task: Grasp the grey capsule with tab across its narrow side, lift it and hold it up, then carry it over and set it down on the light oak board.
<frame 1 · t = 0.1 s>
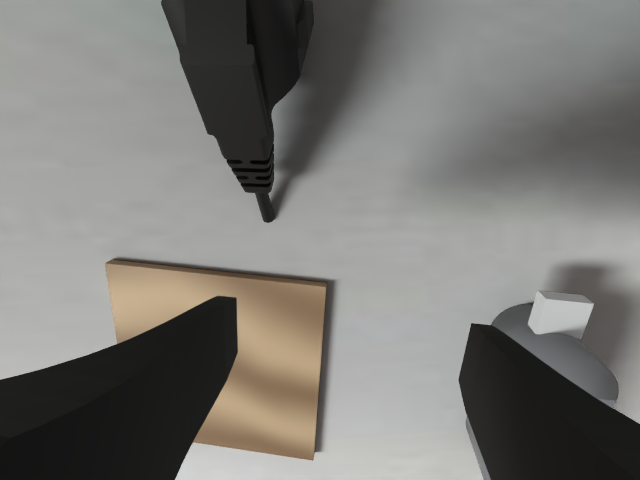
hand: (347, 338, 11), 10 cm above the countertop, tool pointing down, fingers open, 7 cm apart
grey capsule with tab: (510, 380, 22), on the countertop
oak board: (219, 363, 24), on the countertop
power plug: (267, 109, 19), on the countertop
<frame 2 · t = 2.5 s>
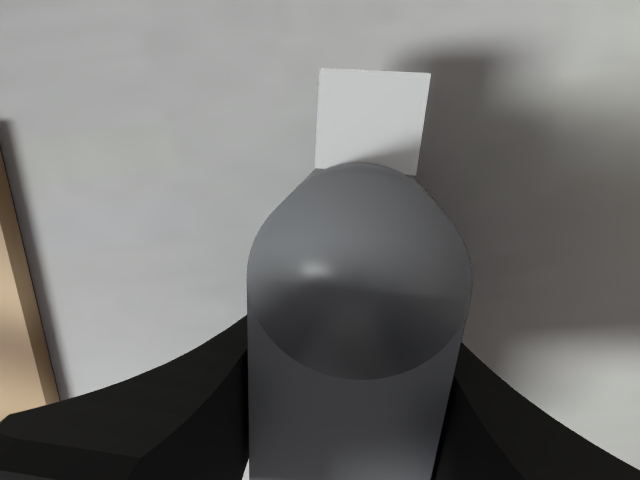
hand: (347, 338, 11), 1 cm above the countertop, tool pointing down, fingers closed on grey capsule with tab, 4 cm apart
grey capsule with tab: (349, 314, 12), on the countertop, touching gripper
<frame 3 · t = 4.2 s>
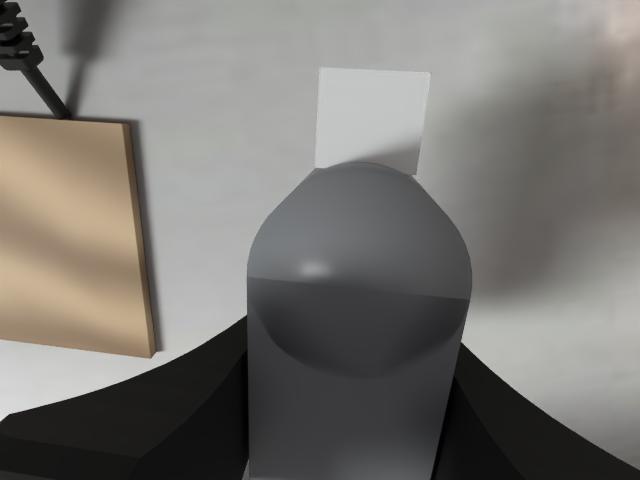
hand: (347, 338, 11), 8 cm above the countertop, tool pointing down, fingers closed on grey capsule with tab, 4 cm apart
grey capsule with tab: (349, 313, 12), point 7 cm above the countertop, touching gripper
oak board: (33, 240, 21), on the countertop
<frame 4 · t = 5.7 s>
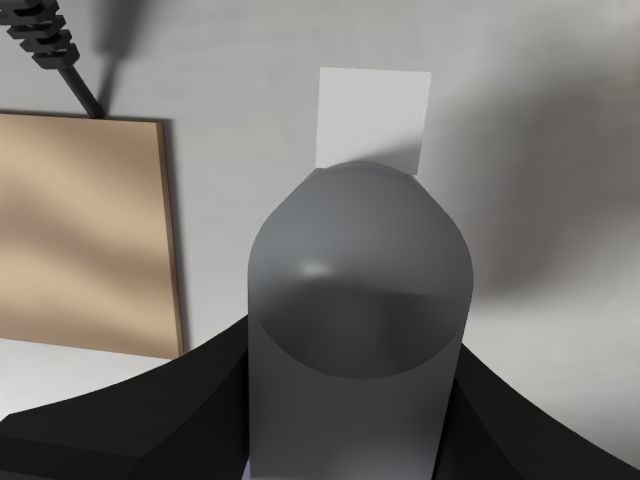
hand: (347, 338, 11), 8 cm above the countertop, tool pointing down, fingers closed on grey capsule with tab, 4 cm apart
grey capsule with tab: (349, 313, 12), point 7 cm above the countertop, touching gripper
oak board: (61, 241, 21), on the countertop
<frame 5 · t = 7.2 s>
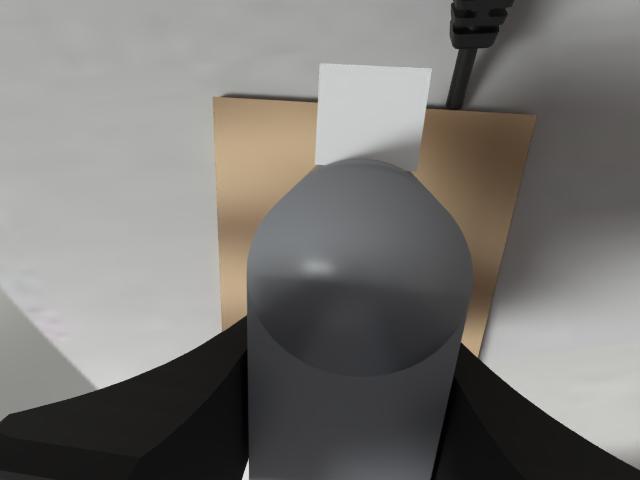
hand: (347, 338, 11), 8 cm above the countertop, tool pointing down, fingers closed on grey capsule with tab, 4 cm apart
grey capsule with tab: (349, 312, 12), point 6 cm above the countertop, touching gripper
oak board: (354, 251, 18), on the countertop
when the fingers open (4 cm above the countertop, at t = 8.7 s): grey capsule with tab drops 1 cm, resting on oak board.
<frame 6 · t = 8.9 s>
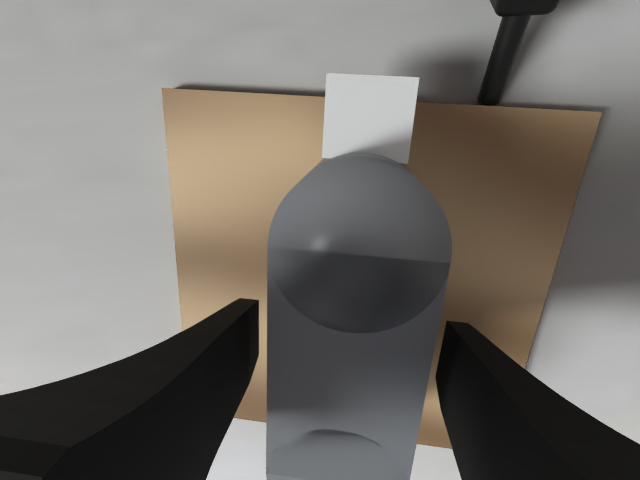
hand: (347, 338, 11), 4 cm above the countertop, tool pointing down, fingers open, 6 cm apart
grey capsule with tab: (351, 292, 14), point 1 cm above the countertop, touching oak board
oak board: (351, 287, 14), on the countertop
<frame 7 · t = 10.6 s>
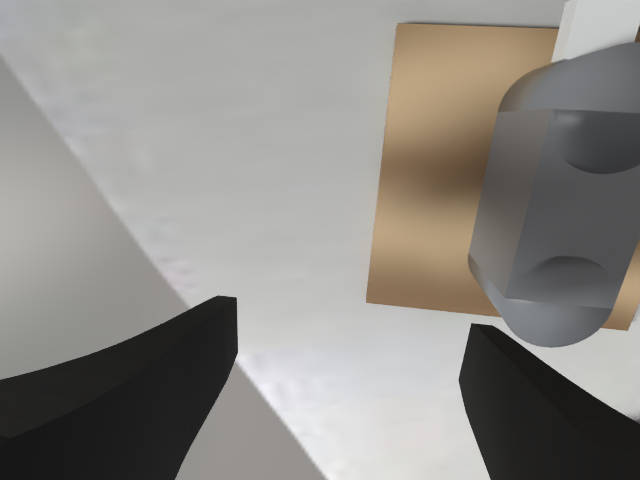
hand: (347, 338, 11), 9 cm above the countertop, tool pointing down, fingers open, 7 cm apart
grey capsule with tab: (524, 190, 17), point 1 cm above the countertop, touching oak board
oak board: (518, 189, 18), on the countertop
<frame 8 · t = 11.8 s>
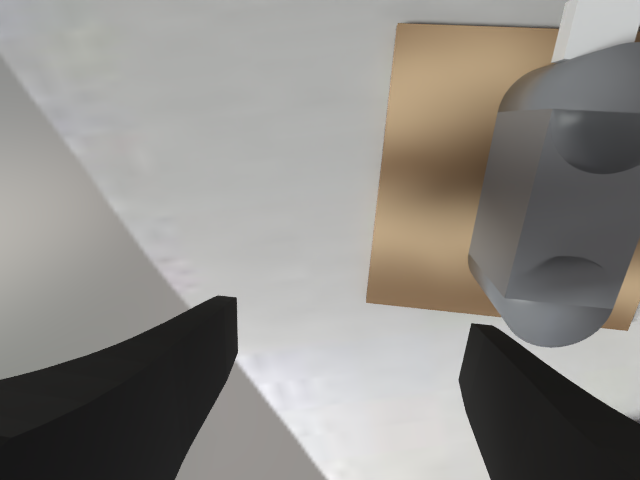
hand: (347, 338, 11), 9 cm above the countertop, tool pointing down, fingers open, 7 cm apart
grey capsule with tab: (524, 190, 17), point 1 cm above the countertop, touching oak board
oak board: (518, 189, 18), on the countertop
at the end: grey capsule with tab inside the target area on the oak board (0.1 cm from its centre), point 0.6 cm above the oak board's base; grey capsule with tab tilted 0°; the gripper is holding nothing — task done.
